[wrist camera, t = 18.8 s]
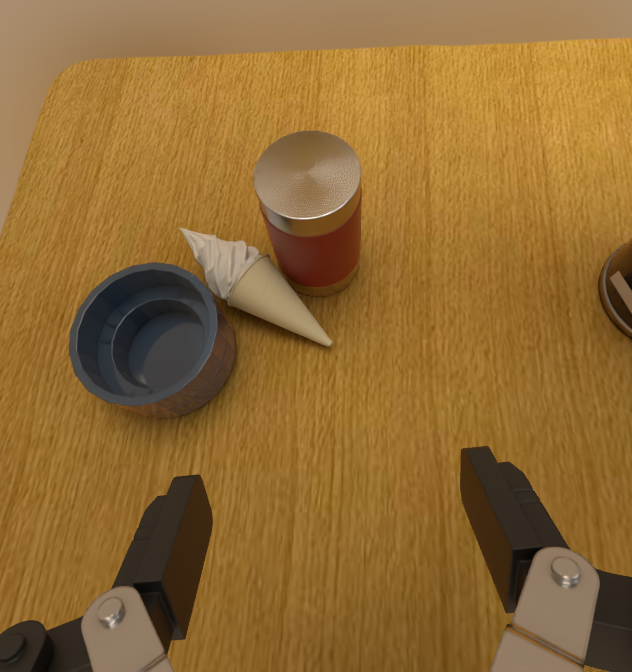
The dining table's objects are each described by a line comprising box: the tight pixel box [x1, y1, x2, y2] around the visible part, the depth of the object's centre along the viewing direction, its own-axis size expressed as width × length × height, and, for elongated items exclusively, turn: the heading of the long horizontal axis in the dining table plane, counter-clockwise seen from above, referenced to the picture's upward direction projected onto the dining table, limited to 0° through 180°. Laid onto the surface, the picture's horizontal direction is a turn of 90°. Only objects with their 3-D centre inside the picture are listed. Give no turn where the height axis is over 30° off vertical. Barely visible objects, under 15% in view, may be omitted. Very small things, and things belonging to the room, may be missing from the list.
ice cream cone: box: [179, 228, 332, 347], centre depth 35 cm, size 5×5×15 cm
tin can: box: [254, 131, 362, 297], centre depth 33 cm, size 7×7×11 cm
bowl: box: [69, 262, 236, 419], centre depth 33 cm, size 10×10×6 cm
